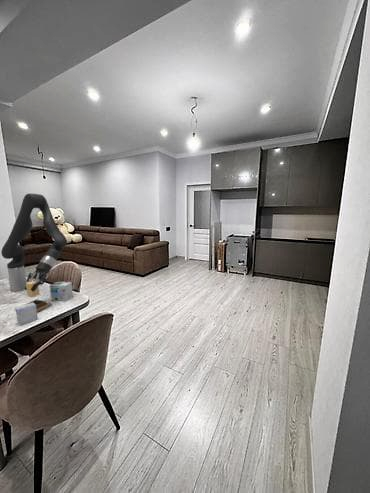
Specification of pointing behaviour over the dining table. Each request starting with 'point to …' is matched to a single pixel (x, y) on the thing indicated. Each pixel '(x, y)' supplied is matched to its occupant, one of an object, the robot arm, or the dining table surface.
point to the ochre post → (29, 286)
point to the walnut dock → (40, 305)
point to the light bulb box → (61, 291)
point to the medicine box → (26, 313)
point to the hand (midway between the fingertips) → (29, 290)
